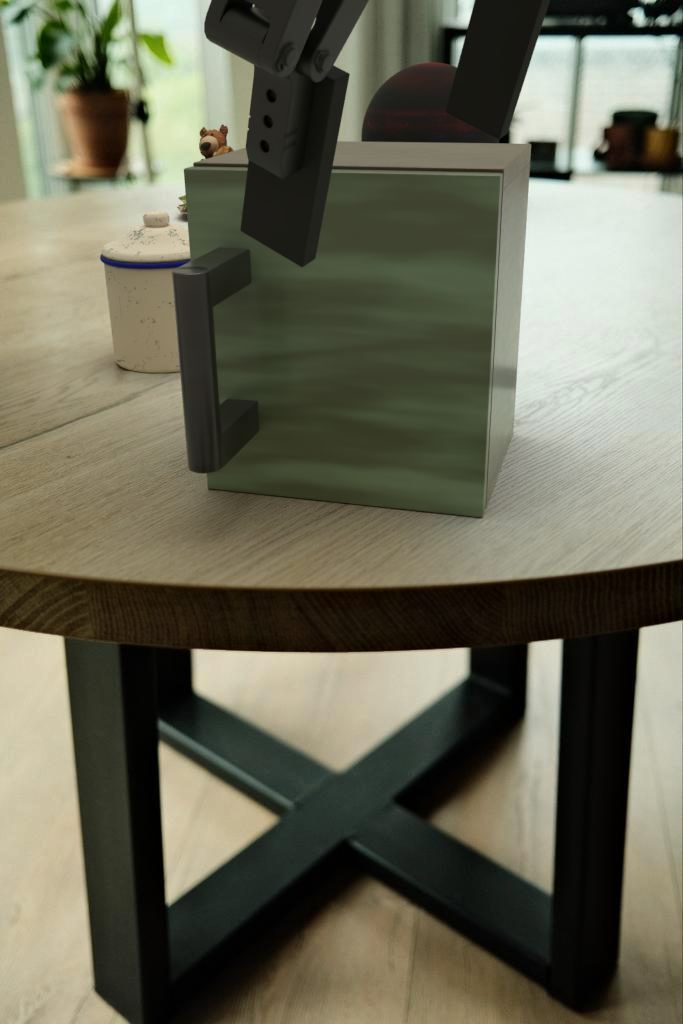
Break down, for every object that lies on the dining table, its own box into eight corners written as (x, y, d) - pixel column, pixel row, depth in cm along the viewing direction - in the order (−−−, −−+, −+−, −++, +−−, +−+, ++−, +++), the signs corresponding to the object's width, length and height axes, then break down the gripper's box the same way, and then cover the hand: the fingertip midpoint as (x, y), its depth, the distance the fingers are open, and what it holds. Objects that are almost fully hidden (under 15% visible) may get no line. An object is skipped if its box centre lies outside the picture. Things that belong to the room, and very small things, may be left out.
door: (462, 573, 49) (479, 194, 42) (160, 536, 53) (125, 185, 46) (485, 510, 56) (503, 172, 48) (213, 482, 60) (190, 166, 52)
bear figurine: (161, 222, 144) (153, 130, 139) (199, 206, 157) (193, 122, 152) (252, 225, 141) (248, 131, 136) (283, 208, 154) (280, 122, 149)
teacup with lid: (229, 371, 80) (219, 218, 75) (111, 379, 78) (93, 224, 73) (217, 332, 90) (208, 196, 86) (113, 338, 89) (97, 200, 84)
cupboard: (486, 511, 56) (504, 168, 48) (215, 482, 60) (192, 162, 52) (513, 435, 66) (531, 143, 59) (281, 415, 70) (269, 140, 63)
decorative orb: (477, 196, 162) (483, 59, 154) (511, 216, 144) (520, 62, 136) (353, 200, 160) (352, 62, 152) (372, 221, 142) (372, 65, 134)
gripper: (426, -740, 14) (257, 375, 30) (878, -560, 30) (609, 119, 45) (50, -826, 17) (75, 258, 32) (651, -617, 32) (469, 51, 48)
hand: (387, 178), depth 39 cm, fingers open, 13 cm apart
